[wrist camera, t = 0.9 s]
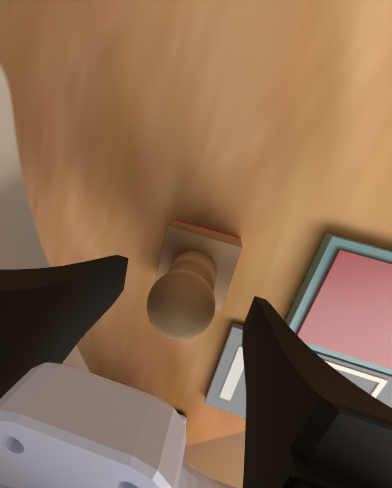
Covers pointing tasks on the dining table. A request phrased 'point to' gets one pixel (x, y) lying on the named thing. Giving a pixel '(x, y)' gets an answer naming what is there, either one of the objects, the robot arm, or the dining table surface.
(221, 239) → the stamp
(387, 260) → the ink pad
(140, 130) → the dining table surface
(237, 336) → the sheet board
